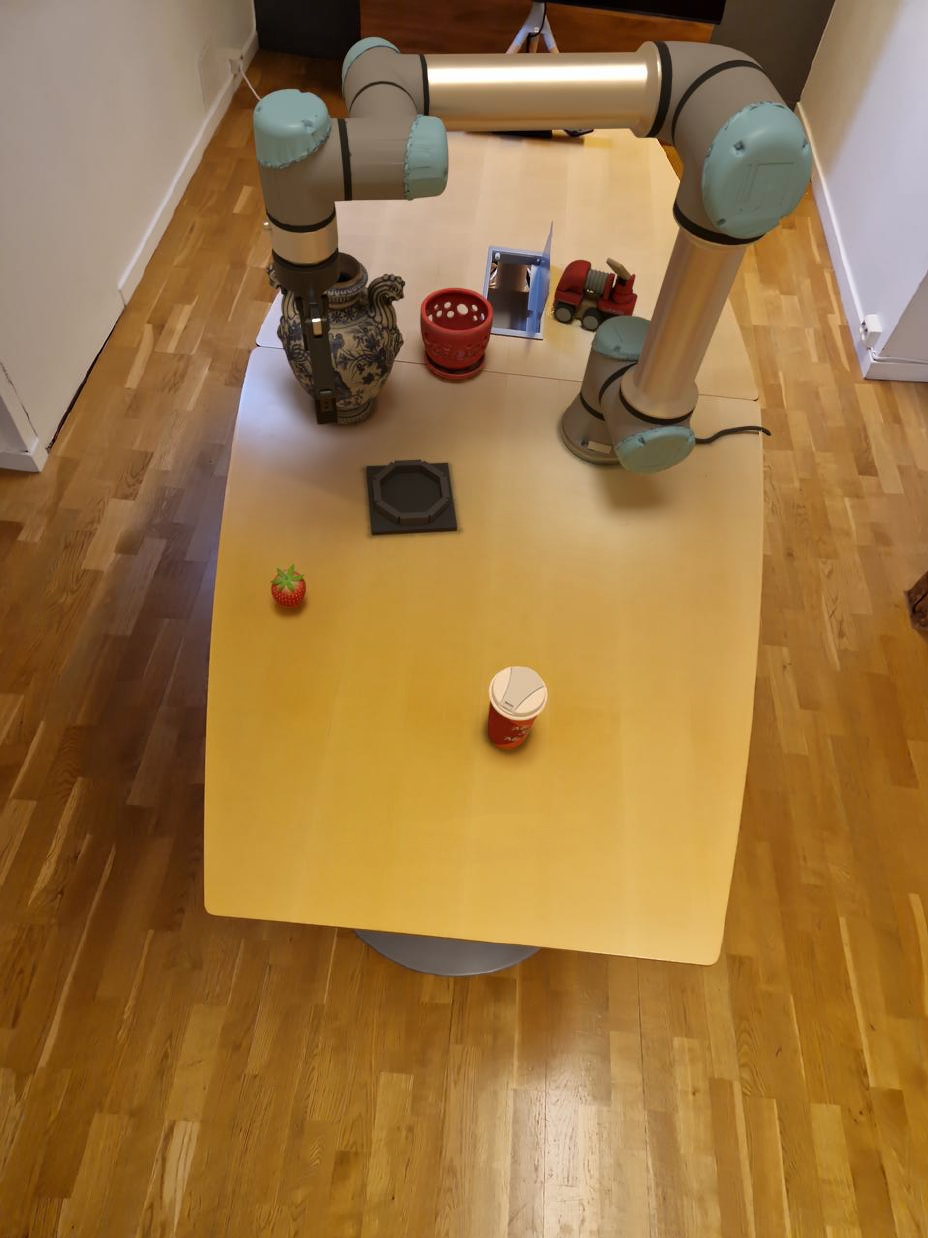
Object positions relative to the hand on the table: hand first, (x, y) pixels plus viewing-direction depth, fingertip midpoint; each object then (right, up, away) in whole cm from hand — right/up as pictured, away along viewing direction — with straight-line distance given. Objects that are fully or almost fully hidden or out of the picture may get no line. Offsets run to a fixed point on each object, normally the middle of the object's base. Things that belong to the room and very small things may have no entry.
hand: (320, 384), depth 111 cm
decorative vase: (-2, +7, +37) cm, 38 cm away
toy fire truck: (+45, +28, +53) cm, 75 cm away
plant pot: (+17, +17, +44) cm, 51 cm away
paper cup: (+26, -48, +6) cm, 55 cm away
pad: (+11, -12, +26) cm, 31 cm away
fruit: (-7, -30, +15) cm, 34 cm away
